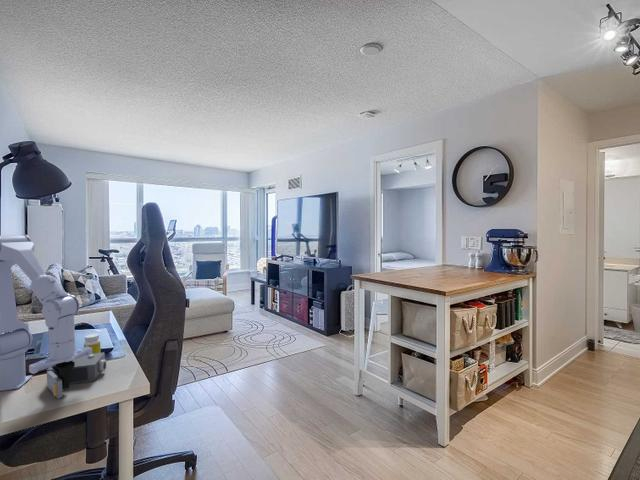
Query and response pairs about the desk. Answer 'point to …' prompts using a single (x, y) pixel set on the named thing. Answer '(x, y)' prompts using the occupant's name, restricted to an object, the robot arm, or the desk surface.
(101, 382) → the desk surface
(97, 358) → the camera body
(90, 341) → the supplement bottle
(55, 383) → the side door
